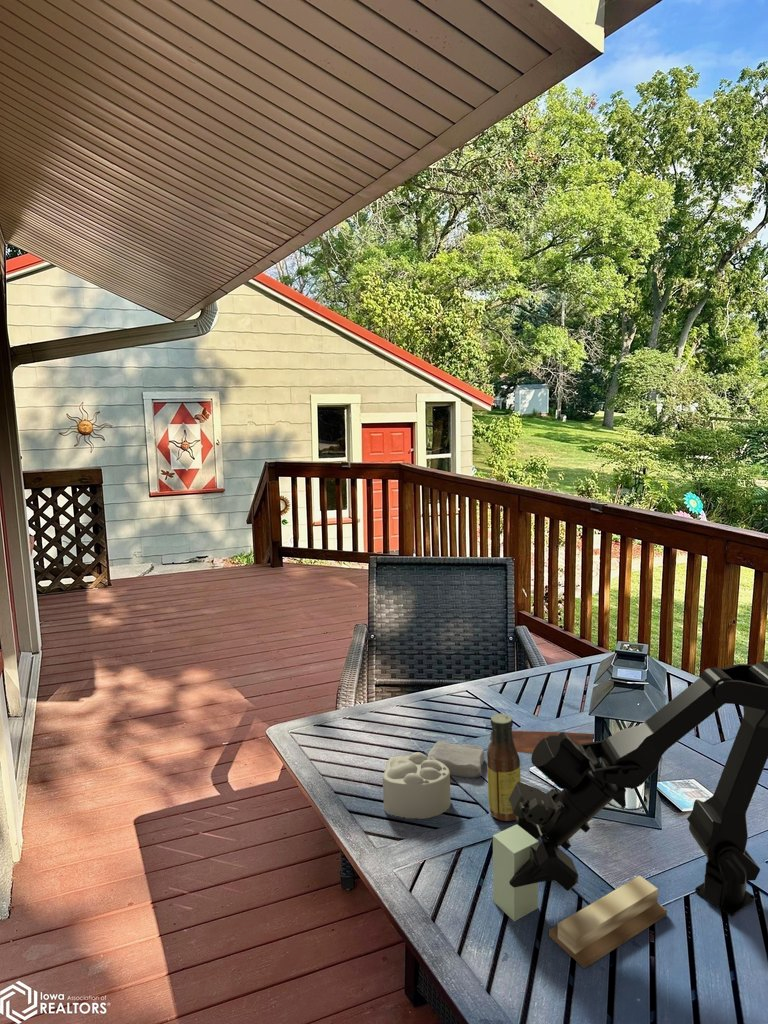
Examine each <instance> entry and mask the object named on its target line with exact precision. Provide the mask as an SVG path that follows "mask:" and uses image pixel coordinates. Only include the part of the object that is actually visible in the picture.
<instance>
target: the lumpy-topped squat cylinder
mask: <svg viewBox="0 0 768 1024" xmlns="http://www.w3.org/2000/svg"><path fill="white" fill-rule="evenodd" d="M385 767H386V769H385V770H384V772H383V774H382V791H383V792H382V794H383V797H382V798H383V810H384V809H385V810H384V812H385V811H387V812H388V813H390V814H392V815H396V816H401V817H400V818H403V817H405V819H414V818H418V819H419V820H420V819H429V818H430V819H431V818H432V817H436V816H439V815H441V814H443V813H445V812H446V811H448V810H449V809H450V807H451V805H452V804H451V775H450V771H449V769H448V768H447V766H445V765H444V764H443V763H442V762H440V761H437V760H435V759H432V758H429V757H427V755H425V754H424V753H422V752H419V751H417V752H413V753H411V754H410V755H396V756H393V757H390V758H389V759H388V760H387V761H386V765H385ZM447 809H448V810H447ZM388 813H387V814H388ZM392 815H391V816H392ZM396 816H395V817H396Z"/></svg>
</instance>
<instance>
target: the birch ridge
mask: <svg viewBox="0 0 768 1024" xmlns="http://www.w3.org/2000/svg"><path fill="white" fill-rule="evenodd" d="M658 894H659V888H658V887H657V886H655V885H653V884H652V883H651V882H650V881H648V880H646V879H645V878H644V877H642V876H641V875H638V876H637V877H635V878H633V879H631V880H629V881H627V882H626V883H623V885H621V886H619V887H617V888H615V889H614V890H613V891H611V892H609V893H608V894H606V895H604V896H602V897H601V898H598V899H597V900H595V901H594V902H592V903H590V904H589V905H587V906H585V907H584V908H581V909H580V910H578V911H577V912H575V913H573V914H572V915H569V916H568V917H567V918H565V919H562V920H561V921H559V922H558V923H557V925H555V926H554V927H552V928H550V929H549V930H548V936H549V938H551V940H553V942H555V943H556V944H557V945H558V946H560V947H561V948H562V949H563V950H564V952H566V953H567V954H568V955H569V956H570V957H571V958H572V959H574V960H575V962H577V963H578V964H579V965H580V967H582V968H583V969H586V968H588V967H589V966H590V965H593V964H594V963H596V962H597V961H598V960H600V959H601V958H603V957H604V956H606V955H608V954H609V953H611V952H612V951H614V950H616V949H617V948H618V947H620V946H622V945H623V944H625V943H626V942H628V941H629V940H631V939H632V938H634V937H635V936H636V935H638V934H640V933H641V932H643V931H644V930H646V929H648V928H650V927H651V926H652V925H654V924H655V923H657V922H659V921H660V920H661V919H663V918H665V917H666V916H667V914H668V910H667V909H666V908H665V906H663V905H661V904H660V903H658V897H659V896H658Z"/></svg>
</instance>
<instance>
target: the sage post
mask: <svg viewBox="0 0 768 1024" xmlns="http://www.w3.org/2000/svg"><path fill="white" fill-rule="evenodd" d="M539 845H540V844H539V840H538V839H535V838H534V837H533V836H531V835H530V834H529V833H527V832H526V831H525V830H524V829H522V828H521V827H520V826H519V825H517V824H516V825H514V824H513V825H512V826H510V827H508V828H506V829H504V830H502V831H499V832H497V833H495V834H493V835H492V889H493V890H492V891H493V892H492V895H493V896H492V897H493V898H492V899H493V900H492V901H493V903H494V904H495V905H496V906H497V907H498V908H499V909H501V910H502V911H503V912H504V913H505V914H506V916H507V917H509V919H511V920H512V921H513V922H516V921H517V920H519V919H521V918H523V917H525V916H527V915H528V914H531V913H532V912H533V911H535V910H537V909H539V883H534V884H529V885H524V886H520V887H515V888H514V887H512V886H511V885H510V883H509V881H510V880H511V879H512V877H513V876H514V875H515V874H516V873H517V871H518V870H519V869H520V868H521V867H522V866H523V865H524V864H525V863H526V862H527V860H528V859H529V858H530V846H531V847H532V848H533V849H535V850H536V851H537V848H538V846H539Z"/></svg>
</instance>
